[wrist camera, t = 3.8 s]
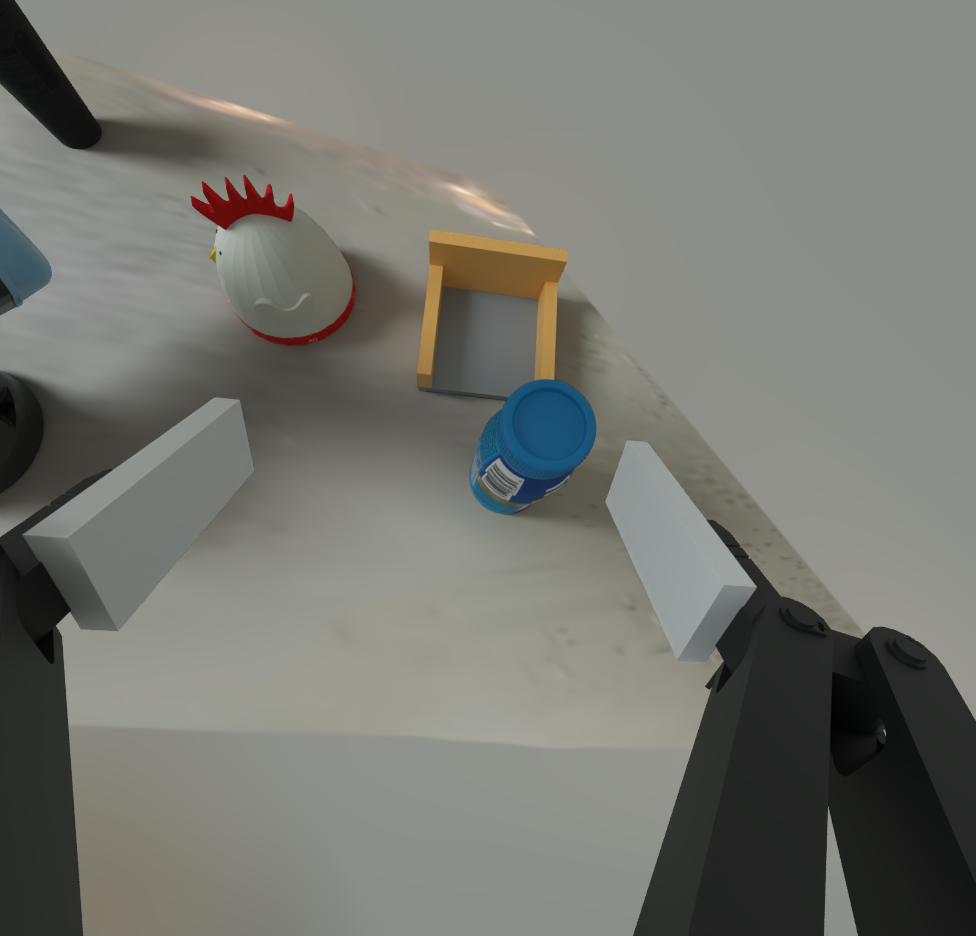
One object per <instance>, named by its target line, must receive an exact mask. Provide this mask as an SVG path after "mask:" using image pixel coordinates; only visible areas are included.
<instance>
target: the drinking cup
mask: <svg viewBox="0 0 976 936" xmlns="http://www.w3.org/2000/svg"><path fill="white" fill-rule="evenodd" d="M0 84H1V85H2V86H3V87H4V88H5V89H6V90H7V91H8V92H9V93H11V94H12V95H13V96H14V97H15V98H16V99H17V100H18V101H19V102H20V103H21V104H22V105H23V106H24V107H25V108H26V109H27V110H28V111H29V112H30V113H31V114H32V115H33V116H34V117H35V118H36V119H37V120H38V121H40V122H41V123H42V124H43V125H44V126H45V127H46V128H47V129H48V130H49V131H50V132H51V133H52V134H53V135H54V136H55V137H56V138H57V139H58V140H59V141H60V142H61V143H62V144H64V145H66V146H68V147H70V148H76V149H81V148H86V147H89V146H92V145H93V144H95V143H96V142H97V141H98V140H99V139H100V136H101V128H100V126H99V124H98V123H97V121H96V120H95V118H94V117H93V115H92V114H91V112H90V111H89V109H88V108H87V106H86V105H85V103H84V102H83V100H82V99H81V98H80V96H79V95H78V93H77V92H76V90H75V89H74V87H73V86H72V84H71V83H70V81H69V80H68V78H67V77H66V75H65V74H64V72H63V71H62V69H61V68H60V66H59V65H58V64H57V62H56V61H55V59H54V58H53V56H52V55H51V53H50V52H49V50H48V49H47V47H46V46H45V44H44V43H43V41H42V40H41V38H40V37H39V35H38V34H37V32H36V31H35V29H34V28H33V27H32V25H31V24H30V22H29V21H28V19H27V18H26V17H25V15H24V13H23V12H22V10H21V9H20V7H19V6H18V4H17V3H16V2H15V0H0Z"/></svg>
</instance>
